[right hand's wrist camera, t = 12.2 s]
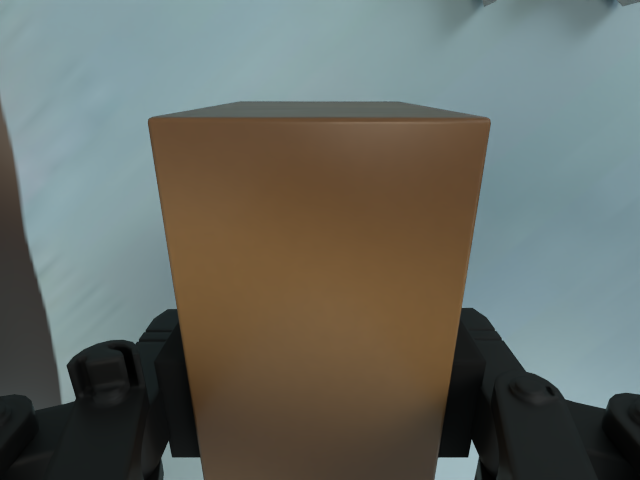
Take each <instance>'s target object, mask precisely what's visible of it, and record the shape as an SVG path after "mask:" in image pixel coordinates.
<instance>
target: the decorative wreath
mask: <svg viewBox="0 0 640 480" xmlns="http://www.w3.org/2000/svg"><path fill="white" fill-rule="evenodd" d="M482 1H483V4H484V7H485V6H487V5H489V4H491V3H493V2H495V1H496V0H482ZM617 1H618V2H619V3H620V4H621V5H622V6H625V5H629V4H633V3H637V2H640V0H617Z"/></svg>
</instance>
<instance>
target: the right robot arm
mask: <svg viewBox="0 0 640 480" xmlns="http://www.w3.org/2000/svg"><path fill="white" fill-rule="evenodd" d="M67 369H68V372H69V376H70V379H71V382H72V386H73V389H74V393H75V396H76V400H75V401H74V402H70V403H67V404H63V405H58V406H54V407H49V408H45V409H41V410H36V411H35V410H34V407H33V404H32V401H31V400H30V399H29V398H27V397H26V396H22V395H15V394H14V395H8V396H1V397H0V480H163V476H164V472H163V465H162V460H161V457H162V455H163V452H164V450H165V448H166V445H167V443H168V441H169V444H170V449H171V454H172V457H200V451H199V445H198V439H197V432H196V426H195V420H194V413H193V407H192V400H191V394H190V388H189V381H188V375H187V369H186V362H185V356H184V349H183V343H182V337H181V330H180V324H179V318H178V311H177V309H167V310H166V311H165V312H163V313H162V314H160V315H159V316H157V317H156V318H154V319H153V321H152V322H151V324H150V325H149V326H148V328H147V329H146V332H144V333H143V335H142V336H141V337H140V339H139V342H137V343H136V344H134V343H133V342H130V341H126V340H110V341H106V342H102V343H98V344H95V345H93V346H91V347H89V348H86V349H84V350H83V351H81V352H80V353H78V354H77V355H75V356H74V357H73V358H72V359H71V360H70V362H69V363H68V364H67ZM471 440H472V441H473V443H474V445H475V448H476V450H477V452H478V454H479V460H478V465H477V470H476V474H475V479H474V480H640V395H638V394H631V393H621V394H615V395H614V396H613V397H612V398H610V399H609V402H608V405H607V408H606V409H603V408H598V407H594V406H589V405H585V404H580V403H576V402H572V401H569V400H565V399H564V397H563V396H562V394H561V393H560V391H559V390H558V388H556V387H555V386H554V385H553V384H551V383H550V382H549V381H548V380H546V379H544V378H542V377H540V376H538V375H536V374H532V373H529V372H526V371H525V370H524V368H523V367H522V365H521V364H520V363H519V361H518V360H517V359H516V357H515V356H514V355H513V353H512V352H511V350H510V349H509V348H508V346H507V345H506V344H505V342H504V341H502V338H501V337H500V335H499V334H498V333H497V331H495V329H494V327H493V326H492V324H491V323H490V322H489V320H488V319H487V318H486V317H485V316H483V315H482V314H481V313H479V312H478V311H476V310H475V309H473V308H461V314H460V321H459V327H458V333H457V339H456V346H455V352H454V358H453V365H452V371H451V377H450V384H449V390H448V396H447V403H446V409H445V415H444V422H443V428H442V434H441V441H440V447H439V453H438V457H468V455H469V450H470V445H471Z"/></svg>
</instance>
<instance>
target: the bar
mask: <svg viewBox="0 0 640 480" xmlns="http://www.w3.org/2000/svg"><path fill="white" fill-rule="evenodd" d="M490 124H491V122H490V119H489V118H487V117H482V116H476V115H471V114H465V113H459V112H454V111H448V110H442V109H437V108H431V107H426V106H420V105H414V104H409V103H403V102H263V101H240V102H234V103H229V104H223V105H217V106H212V107H206V108H200V109H195V110H189V111H183V112H177V113H172V114H166V115H160V116H155V117H151V118H149V119H148V127H149V133H150V139H151V146H152V152H153V158H154V165H155V171H156V177H157V184H158V190H159V197H160V203H161V209H162V216H163V222H164V228H165V235H166V241H167V248H168V254H169V260H170V267H171V273H172V279H173V286H174V292H175V299H176V305H177V311H178V318H179V324H180V330H181V337H182V343H183V349H184V356H185V362H186V369H187V375H188V381H189V388H190V394H191V400H192V407H193V413H194V420H195V426H196V432H197V439H198V445H199V451H200V458H201V464H202V471H203V477H204V480H434V479H435V472H436V466H437V460H438V453H439V447H440V441H441V434H442V428H443V422H444V415H445V409H446V403H447V396H448V390H449V384H450V377H451V371H452V365H453V358H454V352H455V346H456V339H457V333H458V327H459V321H460V314H461V308H462V302H463V295H464V289H465V283H466V276H467V270H468V264H469V257H470V251H471V245H472V238H473V232H474V226H475V219H476V213H477V207H478V200H479V194H480V188H481V181H482V175H483V169H484V162H485V156H486V150H487V143H488V137H489V131H490Z"/></svg>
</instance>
